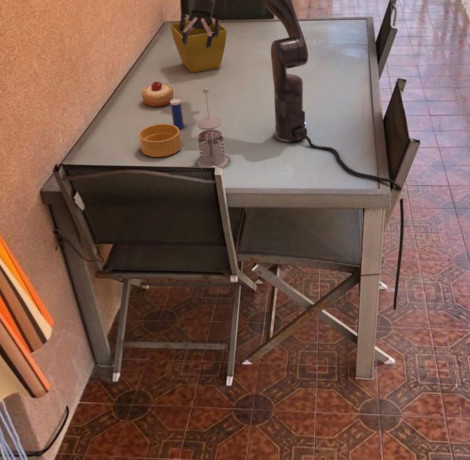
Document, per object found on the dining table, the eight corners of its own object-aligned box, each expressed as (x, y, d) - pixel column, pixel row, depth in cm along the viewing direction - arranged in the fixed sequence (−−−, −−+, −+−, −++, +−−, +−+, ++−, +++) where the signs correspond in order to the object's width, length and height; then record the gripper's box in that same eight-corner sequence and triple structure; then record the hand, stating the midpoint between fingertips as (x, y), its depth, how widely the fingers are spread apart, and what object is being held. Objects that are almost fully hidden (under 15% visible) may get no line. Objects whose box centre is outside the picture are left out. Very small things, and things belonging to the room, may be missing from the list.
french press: (228, 153, 213) (222, 80, 198) (228, 171, 203) (222, 96, 189) (198, 155, 213) (189, 82, 198) (196, 173, 203) (188, 98, 189)
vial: (186, 127, 230) (182, 100, 225) (177, 130, 229) (173, 104, 223) (180, 124, 233) (177, 97, 227) (171, 127, 231) (168, 100, 225)
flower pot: (230, 69, 274) (227, 29, 265) (186, 77, 269) (182, 37, 259) (215, 55, 289) (212, 17, 279) (174, 63, 284) (169, 24, 274)
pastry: (179, 96, 253) (176, 74, 248) (167, 109, 244) (164, 87, 239) (150, 95, 256) (147, 73, 251) (138, 107, 247) (134, 85, 242)
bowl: (189, 149, 217) (187, 132, 213) (154, 162, 210) (151, 145, 207) (168, 136, 225) (166, 120, 222) (134, 148, 219) (131, 132, 216)
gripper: (182, -6, 231) (174, 40, 232) (221, 0, 229) (212, 46, 230) (187, 0, 238) (180, 45, 240) (225, 6, 236) (217, 51, 237)
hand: (196, 46), depth 235 cm, fingers open, 8 cm apart
